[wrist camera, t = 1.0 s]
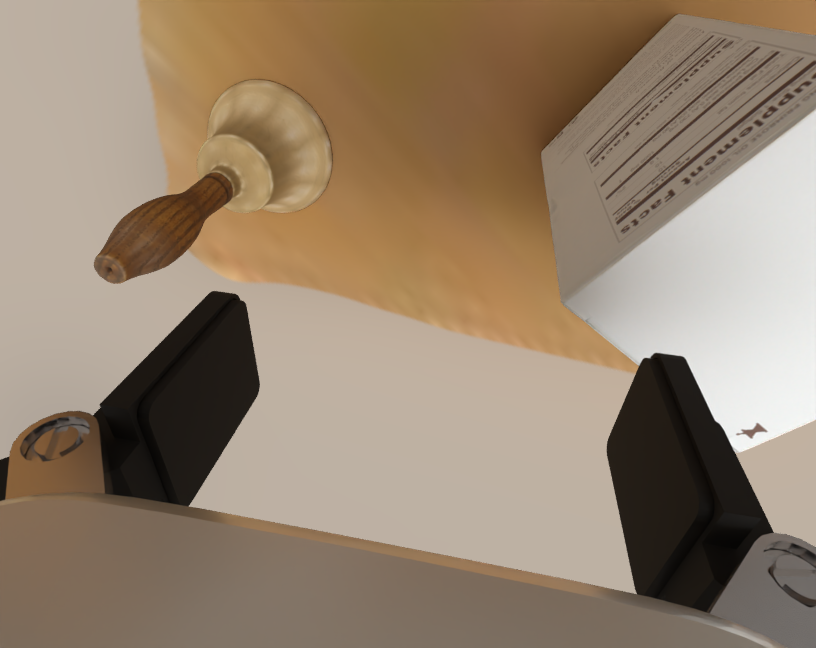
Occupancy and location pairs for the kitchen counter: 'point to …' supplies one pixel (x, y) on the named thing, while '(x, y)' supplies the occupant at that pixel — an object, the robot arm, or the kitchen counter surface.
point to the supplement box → (700, 216)
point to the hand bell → (229, 177)
